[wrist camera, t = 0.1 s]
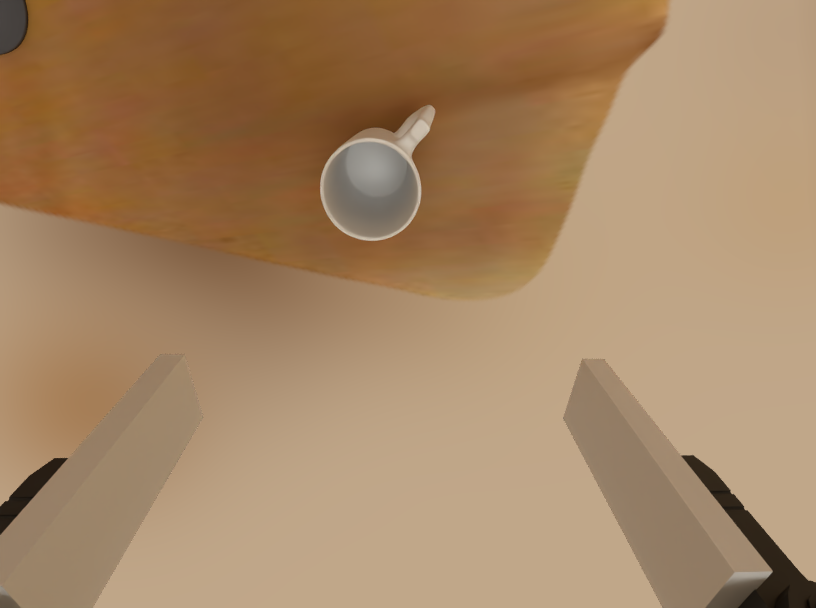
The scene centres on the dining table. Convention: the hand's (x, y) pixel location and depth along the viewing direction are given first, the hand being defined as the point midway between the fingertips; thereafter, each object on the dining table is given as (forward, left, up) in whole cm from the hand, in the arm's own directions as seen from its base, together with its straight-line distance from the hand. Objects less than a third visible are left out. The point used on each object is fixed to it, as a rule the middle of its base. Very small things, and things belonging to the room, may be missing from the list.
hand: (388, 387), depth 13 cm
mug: (-4, 0, -28) cm, 29 cm away
